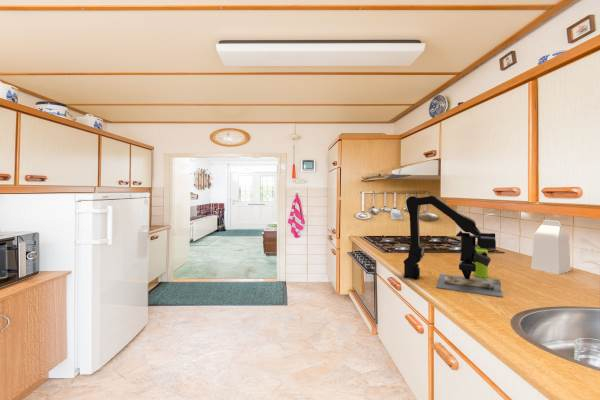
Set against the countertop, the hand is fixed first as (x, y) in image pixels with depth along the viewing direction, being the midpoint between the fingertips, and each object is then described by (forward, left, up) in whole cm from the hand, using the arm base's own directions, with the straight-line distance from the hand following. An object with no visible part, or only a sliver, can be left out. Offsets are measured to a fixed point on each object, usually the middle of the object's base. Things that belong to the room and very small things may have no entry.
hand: (467, 281), depth 130 cm
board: (0, 0, -2) cm, 2 cm away
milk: (+38, +46, -2) cm, 60 cm away
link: (-1, -2, -1) cm, 3 cm away
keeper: (+8, -3, -2) cm, 9 cm away
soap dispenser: (+6, +17, -2) cm, 18 cm away
